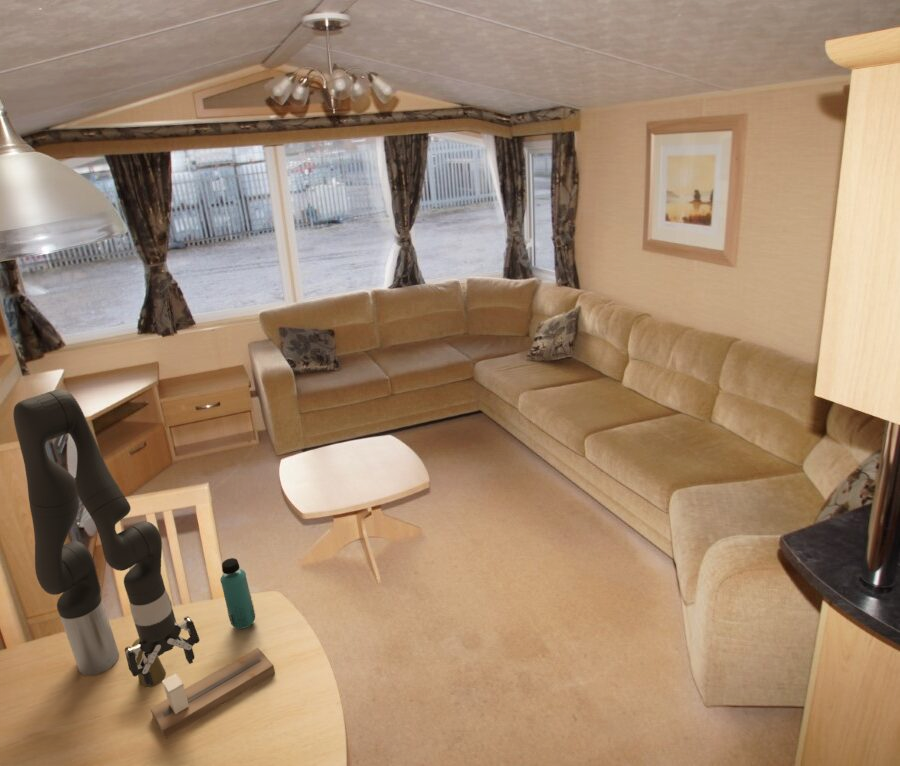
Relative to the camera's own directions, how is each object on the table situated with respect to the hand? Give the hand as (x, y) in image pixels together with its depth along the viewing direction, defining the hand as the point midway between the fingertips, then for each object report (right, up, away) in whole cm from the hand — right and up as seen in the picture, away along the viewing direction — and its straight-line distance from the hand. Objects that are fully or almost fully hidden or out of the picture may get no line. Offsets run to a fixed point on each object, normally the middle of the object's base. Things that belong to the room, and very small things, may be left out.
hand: (170, 672), depth 148 cm
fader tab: (0, -9, +4) cm, 9 cm away
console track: (+7, -9, +9) cm, 15 cm away
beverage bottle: (+7, -1, +30) cm, 31 cm away
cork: (-11, -8, +16) cm, 20 cm away
